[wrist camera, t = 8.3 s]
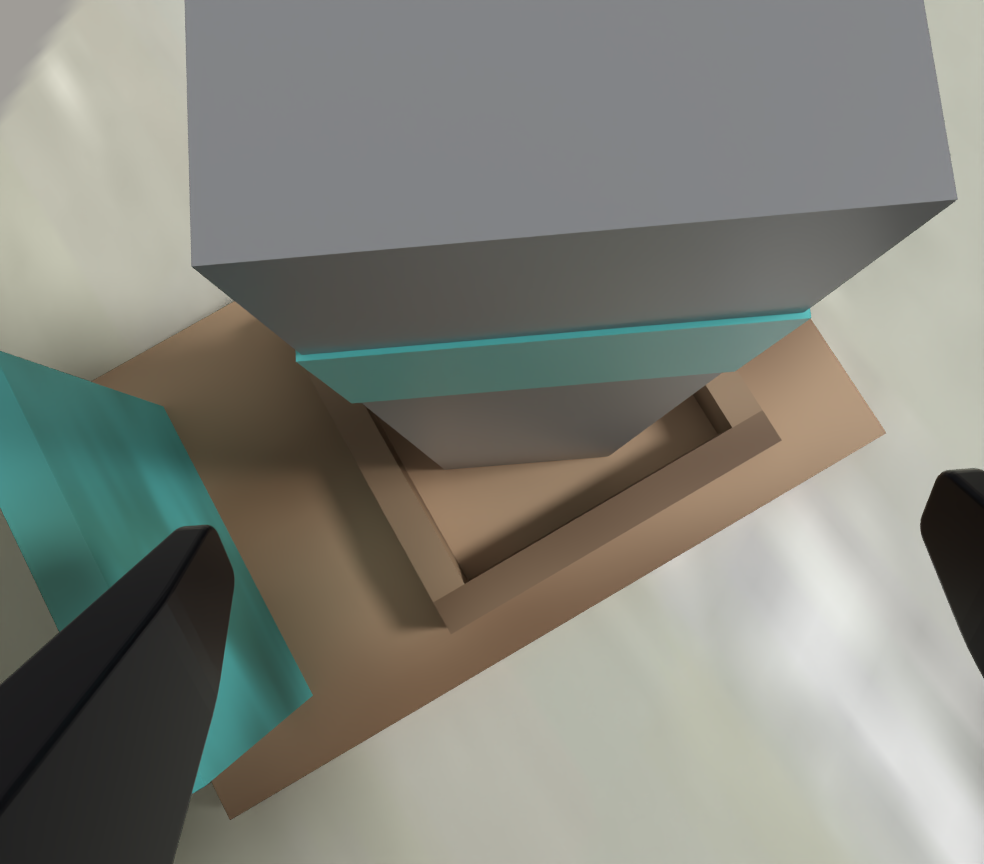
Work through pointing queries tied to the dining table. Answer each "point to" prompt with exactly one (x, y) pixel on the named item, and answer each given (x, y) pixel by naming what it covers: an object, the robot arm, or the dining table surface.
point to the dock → (375, 521)
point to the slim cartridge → (550, 195)
